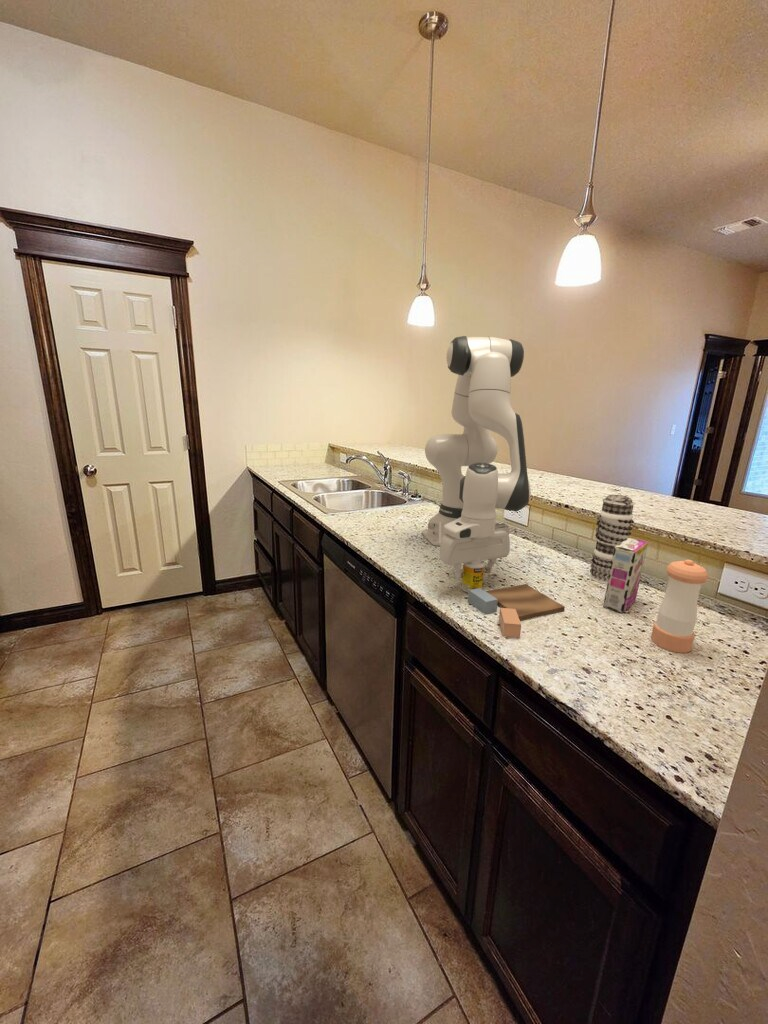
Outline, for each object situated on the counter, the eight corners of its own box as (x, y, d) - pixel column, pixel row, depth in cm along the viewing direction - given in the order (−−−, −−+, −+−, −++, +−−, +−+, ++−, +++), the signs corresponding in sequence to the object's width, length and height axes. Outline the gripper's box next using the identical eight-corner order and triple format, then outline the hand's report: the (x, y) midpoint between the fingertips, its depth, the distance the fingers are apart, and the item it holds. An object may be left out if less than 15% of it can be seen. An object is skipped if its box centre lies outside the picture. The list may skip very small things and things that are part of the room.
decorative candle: (622, 576, 123) (637, 495, 117) (623, 588, 116) (639, 501, 109) (588, 570, 128) (601, 491, 121) (587, 580, 120) (600, 497, 113)
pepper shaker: (683, 657, 84) (704, 569, 79) (644, 640, 90) (662, 558, 85) (696, 645, 88) (717, 562, 83) (659, 630, 94) (676, 551, 89)
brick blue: (467, 602, 106) (468, 589, 105) (479, 600, 107) (480, 587, 106) (484, 615, 99) (486, 601, 98) (496, 612, 101) (497, 599, 100)
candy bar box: (624, 614, 101) (636, 551, 97) (602, 607, 104) (613, 546, 100) (637, 600, 108) (649, 541, 104) (616, 594, 112) (627, 536, 108)
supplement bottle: (471, 596, 108) (474, 560, 106) (457, 588, 113) (459, 553, 110) (486, 591, 111) (489, 556, 109) (471, 583, 116) (474, 549, 113)
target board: (483, 595, 109) (483, 591, 109) (525, 587, 114) (525, 583, 114) (518, 621, 97) (519, 616, 96) (564, 611, 102) (564, 606, 101)
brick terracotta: (498, 621, 97) (499, 607, 96) (513, 622, 96) (515, 608, 95) (503, 637, 90) (504, 623, 89) (519, 638, 90) (521, 624, 89)
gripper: (502, 519, 114) (497, 566, 118) (437, 526, 107) (435, 575, 110) (517, 525, 109) (512, 574, 112) (450, 533, 101) (447, 585, 104)
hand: (473, 575), depth 111 cm, fingers open, 8 cm apart
